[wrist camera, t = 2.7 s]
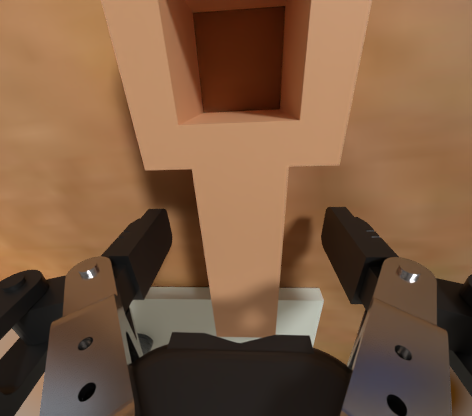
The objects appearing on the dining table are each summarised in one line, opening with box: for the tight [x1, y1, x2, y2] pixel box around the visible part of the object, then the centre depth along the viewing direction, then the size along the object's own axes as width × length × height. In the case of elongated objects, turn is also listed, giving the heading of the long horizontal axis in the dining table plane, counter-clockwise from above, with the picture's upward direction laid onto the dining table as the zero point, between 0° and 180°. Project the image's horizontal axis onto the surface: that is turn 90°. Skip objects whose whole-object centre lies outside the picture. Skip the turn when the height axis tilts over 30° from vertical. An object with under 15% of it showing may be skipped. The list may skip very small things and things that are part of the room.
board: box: [130, 287, 324, 350], centre depth 19 cm, size 18×17×1 cm
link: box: [101, 0, 372, 338], centre depth 9 cm, size 15×6×4 cm, turn 2°
